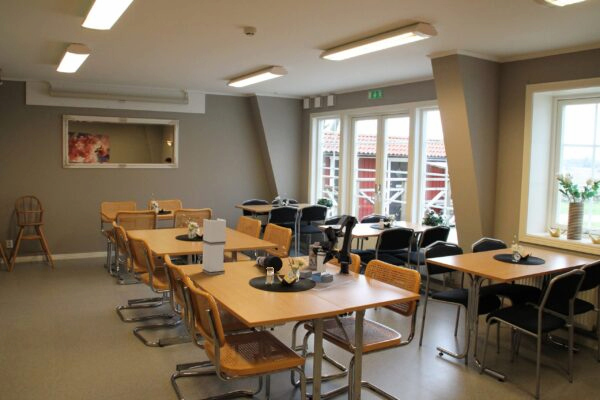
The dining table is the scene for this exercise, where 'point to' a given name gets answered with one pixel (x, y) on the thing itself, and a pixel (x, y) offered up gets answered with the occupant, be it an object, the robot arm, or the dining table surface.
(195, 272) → the dining table surface
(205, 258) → the white stacked pillar
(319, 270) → the plug
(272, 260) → the black bottle
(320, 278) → the grey compartment tray
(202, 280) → the dining table surface
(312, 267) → the decorative jar
